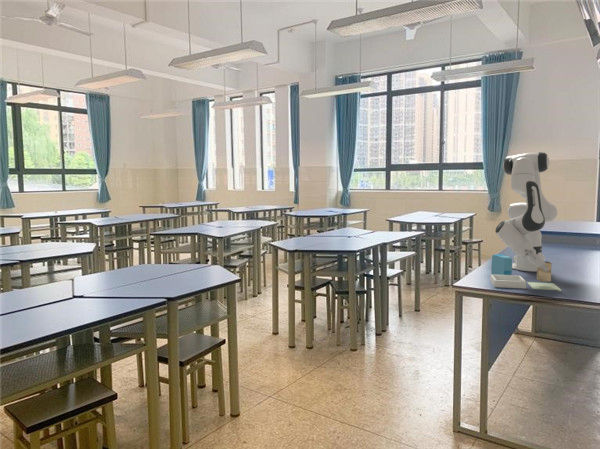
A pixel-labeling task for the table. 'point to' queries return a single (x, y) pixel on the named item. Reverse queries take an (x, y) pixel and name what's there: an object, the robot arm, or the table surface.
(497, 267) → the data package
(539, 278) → the part box
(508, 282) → the bin
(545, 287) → the pad
